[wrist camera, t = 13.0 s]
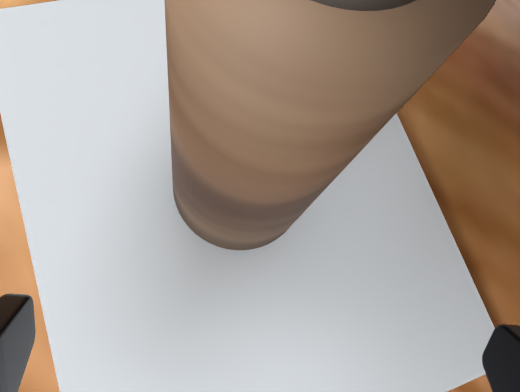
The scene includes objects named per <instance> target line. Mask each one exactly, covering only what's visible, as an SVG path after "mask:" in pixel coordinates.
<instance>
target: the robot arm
mask: <svg viewBox="0 0 520 392" xmlns="http://www.w3.org/2000/svg"><path fill="white" fill-rule="evenodd" d="M34 340H35V318H34V305H33V300H32V297H31V296H29V295H24V294H5V295H3V296H1V297H0V392H18V389H19V386H20V383H21V380H22V377H23V374H24V371H25V368H26V365H27V362H28V359H29V356H30V353H31V350H32V347H33V344H34ZM482 364H483V368H484V370H485V373H486V376H487V378H488V381H489V383H490V386H491V389H492V391H493V392H520V326H518V325H506V324H501V325H498V326H497V327H496V328H495V329H494V331H493V333H492V335H491V337H490V339H489V341H488V343H487V345H486V347H485V349H484V352H483V354H482Z"/></svg>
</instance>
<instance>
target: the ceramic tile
mask: <svg viewBox="0 0 520 392" xmlns="http://www.w3.org/2000/svg"><path fill="white" fill-rule="evenodd" d="M0 113H1V118H2V123H3V127H4V132H5V137H6V141H7V146H8V151H9V155H10V160H11V165H12V169H13V174H14V179H15V184H16V188H17V193H18V198H19V202H20V207H21V212H22V216H23V221H24V226H25V230H26V235H27V240H28V245H29V249H30V254H31V259H32V263H33V268H34V273H35V277H36V282H37V287H38V291H39V296H40V301H41V306H42V310H43V315H44V320H45V324H46V329H47V334H48V338H49V343H50V348H51V352H52V357H53V362H54V367H55V371H56V376H57V381H58V385H59V390H60V392H447V391H449V390H451V389H454V388H456V387H458V386H460V385H463V384H465V383H467V382H469V381H472V380H474V379H476V378H478V377H480V376H483V375H485V374H486V373H485V370H484V368H483V364H482V354H483V352H484V349H485V347H486V345H487V343H488V341H489V339H490V337H491V335H492V333H493V331H494V329H495V328H494V325H493V323H492V321H491V319H490V317H489V314H488V312H487V310H486V308H485V306H484V304H483V301H482V299H481V297H480V295H479V293H478V290H477V288H476V286H475V284H474V282H473V279H472V277H471V275H470V273H469V271H468V268H467V266H466V264H465V262H464V260H463V257H462V255H461V253H460V251H459V249H458V247H457V244H456V242H455V240H454V238H453V236H452V233H451V231H450V229H449V227H448V225H447V222H446V220H445V218H444V216H443V214H442V211H441V209H440V207H439V205H438V203H437V200H436V198H435V196H434V194H433V192H432V190H431V187H430V185H429V183H428V181H427V179H426V176H425V174H424V172H423V170H422V168H421V165H420V163H419V161H418V159H417V157H416V154H415V152H414V150H413V148H412V146H411V143H410V141H409V139H408V137H407V135H406V133H405V130H404V128H403V126H402V124H401V122H400V119H399V117H398V115H397V113H396V114H395V115H394V116H393V117H392V118H391V119H390V120H389V122H388V123H387V124H386V125H385V126H384V127H383V128H382V129H381V130H380V131H379V132H378V133H377V134H376V135H375V136H374V138H373V139H372V140H371V141H370V142H369V143H368V144H367V145H366V146H365V147H364V148H363V149H362V150H361V151H360V153H359V154H358V155H357V156H356V157H355V158H354V159H353V160H352V161H351V162H350V163H349V164H348V165H347V166H346V168H345V169H344V170H343V171H342V172H341V173H340V174H339V175H338V176H337V177H336V178H335V179H334V180H333V181H332V183H331V184H330V185H329V186H328V187H327V188H326V189H325V190H324V191H323V192H322V193H321V194H320V195H319V196H318V198H317V199H316V200H315V201H314V202H313V203H312V204H311V205H310V206H309V207H308V208H307V209H306V210H305V211H304V213H303V214H302V215H301V216H300V217H299V218H298V219H297V220H296V221H295V222H294V223H293V224H292V225H291V226H290V228H289V229H288V230H287V231H286V232H285V233H284V234H283V235H281V236H280V237H279V238H278V239H276V240H275V241H273V242H271V243H270V244H267V245H265V246H262V247H259V248H256V249H250V250H230V249H225V248H221V247H217V246H215V245H213V244H210V243H208V242H207V241H205V240H203V239H202V238H200V237H199V236H198V235H196V234H195V233H194V232H193V231H192V230H191V229H190V228H189V227H188V226H187V224H186V223H185V222H184V221H183V219H182V217H181V215H180V214H179V212H178V209H177V207H176V204H175V200H174V194H173V181H172V158H171V136H170V113H169V91H168V68H167V46H166V23H165V1H164V0H59V1H52V2H45V3H38V4H31V5H25V6H18V7H11V8H4V9H0Z"/></svg>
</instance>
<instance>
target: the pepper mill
mask: <svg viewBox="0 0 520 392" xmlns="http://www.w3.org/2000/svg"><path fill="white" fill-rule="evenodd" d="M164 1H165V23H166V46H167V68H168V91H169V113H170V136H171V158H172V181H173V194H174V200H175V204H176V207H177V209H178V212H179V214H180V215H181V217H182V219H183V221H184V222H185V223H186V224H187V226H188V227H189V228H190V229H191V230H192V231H193V232H194V233H195V234H196V235H198V236H199V237H200V238H202V239H203V240H205V241H207V242H208V243H210V244H213V245H215V246H217V247H221V248H225V249H230V250H250V249H256V248H259V247H262V246H265V245H267V244H270V243H271V242H273V241H275V240H276V239H278V238H279V237H280V236H281V235H283V234H284V233H285V232H286V231H287V230H288V229H289V228H290V226H291V225H292V224H293V223H294V222H295V221H296V220H297V219H298V218H299V217H300V216H301V215H302V214H303V213H304V211H305V210H306V209H307V208H308V207H309V206H310V205H311V204H312V203H313V202H314V201H315V200H316V199H317V198H318V196H319V195H320V194H321V193H322V192H323V191H324V190H325V189H326V188H327V187H328V186H329V185H330V184H331V183H332V181H333V180H334V179H335V178H336V177H337V176H338V175H339V174H340V173H341V172H342V171H343V170H344V169H345V168H346V166H347V165H348V164H349V163H350V162H351V161H352V160H353V159H354V158H355V157H356V156H357V155H358V154H359V153H360V151H361V150H362V149H363V148H364V147H365V146H366V145H367V144H368V143H369V142H370V141H371V140H372V139H373V138H374V136H375V135H376V134H377V133H378V132H379V131H380V130H381V129H382V128H383V127H384V126H385V125H386V124H387V123H388V122H389V120H390V119H391V118H392V117H393V116H394V115H395V114H396V113H397V112H398V111H399V110H400V109H401V108H402V107H403V105H404V104H405V103H406V102H407V101H408V100H409V99H410V98H411V97H412V96H413V95H414V94H415V93H416V92H417V90H418V89H419V88H420V87H421V86H422V85H423V84H424V83H425V82H426V81H427V80H428V79H429V78H430V77H431V75H432V74H433V73H434V72H435V71H436V70H437V69H438V68H439V67H440V66H441V65H442V64H443V63H444V62H445V60H446V59H447V58H448V57H449V56H450V55H451V54H452V53H453V52H454V51H455V50H456V49H457V48H458V47H459V45H460V44H461V43H462V42H463V41H464V40H465V39H466V38H467V37H468V36H469V35H470V34H471V33H472V32H473V31H474V29H475V28H476V27H477V26H478V25H479V24H480V23H481V22H482V21H483V20H484V19H485V17H486V16H487V14H488V13H489V11H490V10H491V8H492V7H493V5H494V4H495V1H496V0H164Z"/></svg>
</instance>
